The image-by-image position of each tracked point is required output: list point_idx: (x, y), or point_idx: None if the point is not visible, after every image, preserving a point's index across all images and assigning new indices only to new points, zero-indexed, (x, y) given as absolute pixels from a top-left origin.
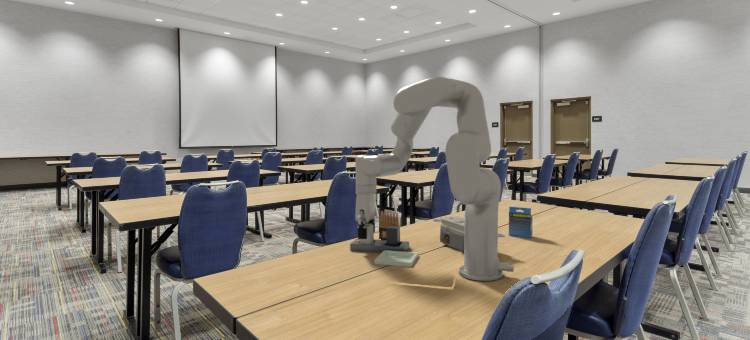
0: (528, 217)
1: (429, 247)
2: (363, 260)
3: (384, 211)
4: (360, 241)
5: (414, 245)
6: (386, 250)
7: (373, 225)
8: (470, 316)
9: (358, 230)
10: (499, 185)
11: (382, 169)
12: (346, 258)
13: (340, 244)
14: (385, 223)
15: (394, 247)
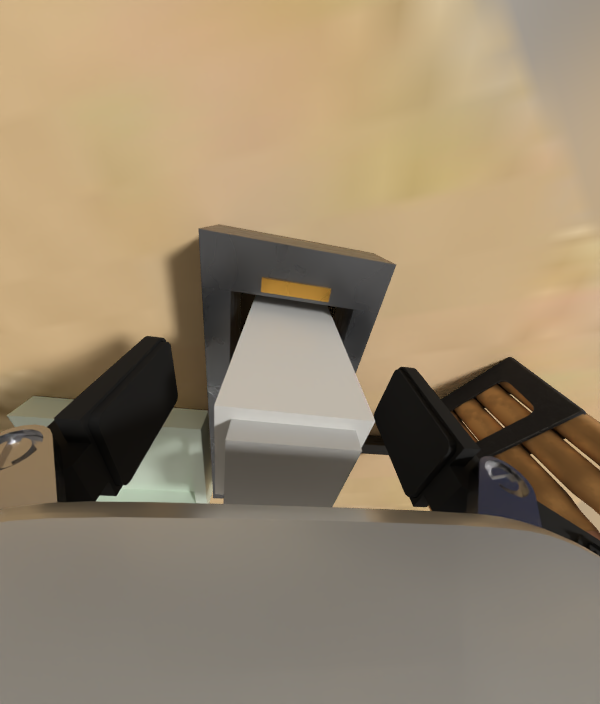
0: None
1: (338, 502)
2: (79, 340)
3: None
4: (249, 319)
5: (366, 474)
6: (198, 437)
7: (398, 470)
8: None
9: (91, 394)
10: None
11: None
12: (51, 227)
13: (463, 49)
14: (560, 477)
15: (212, 470)
